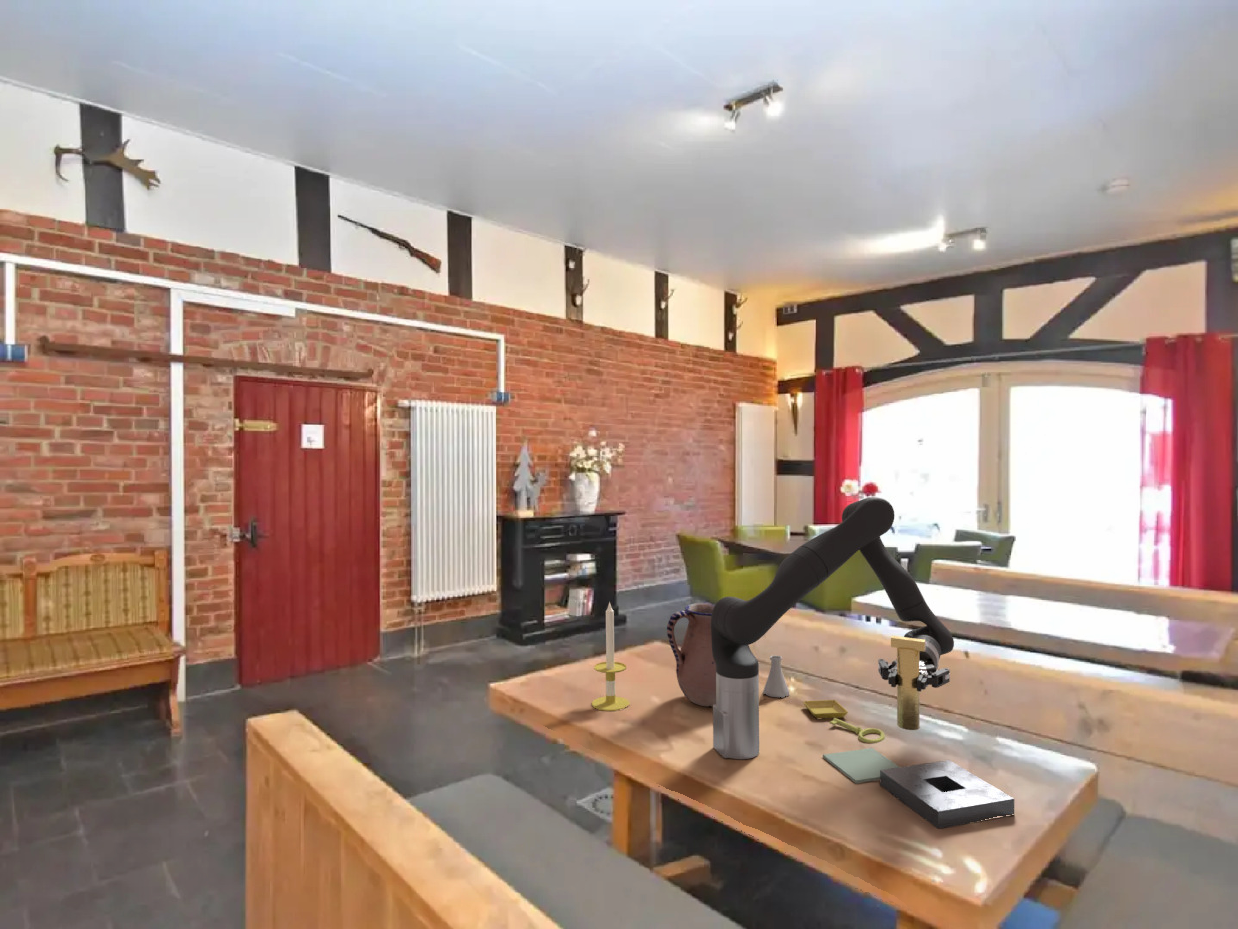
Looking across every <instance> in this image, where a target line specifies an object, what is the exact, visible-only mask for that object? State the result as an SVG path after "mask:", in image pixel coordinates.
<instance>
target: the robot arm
mask: <svg viewBox="0 0 1238 929" xmlns="http://www.w3.org/2000/svg"><path fill="white" fill-rule="evenodd" d="M894 521H895V510H894V507H893V506H892V504H891V503H890V502H889V501H888V500H887V499H884V498H883V497H878V496H871V497H866V498H863V499H860V500H858V501H854V502H851V503H850V504H848V505H846V506H845V508H844V509H843V511H842V514H841V523H839V524H838V525H836V526H834V527H832V528H831V529H828V530H826V531H824V532H823V533H821V534H819V535H816V536H815V537H813V538H811V539H810V540H808V541H806V542H805V543H802V545H800V546H799V547H797V548H796V549H795V550H794V551H792V552H791V553H789V555H787V556H786V557H785V558H784V559H783V560H782V562H781V563H780V565H779V566H778V568H777V570H776V573H775V576H774V578H773V580H772V582H771V583H770V584H769V585H768V586H767V587H765V589H764V590H762V591H761V592H760V593H758V594H757V595H755V596H754V597H752V598H751V599H749V600H744V599H742V598H739V597H735V596H725V597H722V598H720V599H719V600H718V601H717V602H715V604H714V608H713V611H712V615H711V641H712V655H713V658H714V661H715V664H716V704H714V705H713V707H712V738H713V739H712V745H713V746H712V747H713V749H715V751H716V752H717V753H718V754H719V755H720V754H721V755H722V756H723V757H724V758H723V757H722V756H721V755H720V756H721V757H722V758H723V759H734V760H748V759H752V758H755V757H757V756H758V755H759V754H760V678H759V676H760V672H759V670H760V669H759V668H760V666H759V664H760V663H759V661H758V660H759V659H757V657H756V656H755V654H754V653H753V652H752V650H751V647H750V645H752V644H755V643H756V642H758V641H759V640H760V639H761V638H762V637H763V636H765V635H766V633H768V631H770V630H771V628H772V627H774V626H775V624H776V623H777V622H778V621H779V620H780V619H781V618H782V617H783V616H784V615H785V614H786V613H787V612H789V611H790V610H791V609H792V608H793V607H794V606H795V605H797V604H798V603H799V602H801V600H802V599H803V598H805V597H806V596H807V595H808V594H810V593H811V592H812V591H813V590H815V589H817V587H819V586H820V585H822V583H824V581H826V580H827V579H828V578H830V577H831V576H832V575H833V574H834V573H835V572H836V571H837V570H839V569H840V568H841V567H842V566H843V565H844V564H846V562H848V560H850V559H851V558H852V557H853V556H854V555H855V554H856V553H857V552H858V551H859V552H860V554H861V555H862V556H863V558H864V559H865V560H866V563H868V565H869V567H870V568H871V569H872V570H873V573H874V574H875V575H876V577H877V579H878V580H879V583H880V584H881V586H882V587H883V589H884V591H885V593H886V595H887V597H888V599H889V601H890V603H891V605H892V607H893V609H894V611H895V613H896V615H897V616H898V618H899V620H901V621H902V622H905V623H907V622H920V623H923V624H924V625H925V626H921V627H918V628H915V629H912V630H910V631H907V632H906V633H905V634H904V636H903V637H907V638H915V639H923V640H926V649H925V651H919V677H918V679H917V691H919V693H920V692H922V690H926V689H927V688H928V687H929V686H931V687H932V688H935V689H937V688H940V687H942V686H944V685H947V684H948V683H950V680H951V679H950V677H951V676H950V675H951V674H950V671H951V670H950V668H948V667H943V668H939V663H940V658H941V656H943V655H946V654H949V653H951V652H952V651H953V650H954V647H955V640H954V638H953V635H952V633H951V632H950V630H949V629H948V627H946V625H945V624H944V623H943V622H942V621H941V620H940V619H939V618H938V617H937V616H936V614H935V613H934V612H933V610H931V608H930V607H929V606H928V604H927V602H926V600H925V598H924V595H923V594H922V592H921V590H920V588H919V586H918V585H917V583H916V581H915V579H914V578H913V577H912V574H910V573H909V572H908V571H907V570H906V568H904V566H903V565H901V564H900V563H899V562H898V561H897V559H895V557H893V556H892V554H891V553H890V552H889V551H888V549H887V547H886V545H885V544H884V542H883V541H882V539H881V537H882V536H883V535H884V534H886V533H888V531H889V530H890V529H891V528H892V527H893V524H894ZM877 664H878V665H877V666H878V673H879V675H880V678H882V680H884V681H888V682H887V683H888V685H890V687H891V688H896V687H897V658H896V659H895V660H893V661H891V663H889V662H888V661H887V660H885V659H884V658H879V659H878V663H877Z"/></svg>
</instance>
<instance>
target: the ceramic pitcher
mask: <svg viewBox="0 0 1238 929" xmlns="http://www.w3.org/2000/svg"><path fill="white" fill-rule="evenodd" d="M714 606H715V604H713V603H710V602H708V601H707V602H705V601H704V602H695V603H691V604H687V605H686V606H685V607H684V610H683V609H681V610H677V611H676V612H674V613H673V614H671V615H670V618H669V620H668V622H667V625H666V633H667V639H668V642H669V645H670V648H671V650H672V653H673V656H674V660H675V663H676V666H675V668H676V669H675V673H676V678H677V680H676V681H677V683H678V686H679V688H680V690H681V691H682V693H683V695H684V696H685V697H686V698H687V699H688V700H689V701H691V703H693V704H695V705H698V706H702V707H709V706H713V705H714V704H716V664H715V661H714V658H713V655H712V641H711V615H712V611H713V608H714ZM683 618H685V619H687V620H688V625H687V628H686V631H685V633H684V638H683V640H682V642H681V647H680V649H679V647H678V645H677V642H676V637H675V626H676V625H677V623H678V622H679V620H681V619H683Z"/></svg>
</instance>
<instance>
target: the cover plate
mask: <svg viewBox="0 0 1238 929" xmlns="http://www.w3.org/2000/svg"><path fill="white" fill-rule="evenodd" d="M879 786H880V787H882V788H883V789H884V790H886V791H887V792H889V793H890V794H891V795H892V796H894V797H895V798H896V799H898V801H900V802H902V803H903V804H904V805H906V806H907V807H909V808H910V809H911V810H912V811H914V812H915V813H916V814H917V815H919V816H920V817H922V818H923V819H924V820H926V821H927V822H929V823H930V824H931V825H932V826H934V827H935V828H937V829H938V830H939V829H940V830H941V829H945V828H950V827H951V828H952V827H956V826H961V825H967V823H969V824H971V823H970V822H974V823H978V822H977V821H980V822H982V821H981V820H985V819H989V818H993V817H997V816H1006V815H1012V814H1014V815H1015V798H1014V797H1012V796H1011V795H1009V794H1008V793H1005V792H1004V791H1002V790H1001V789H999V788H997V787H996V786H994V785H992V784H990V783H988V782H987V781H985V780H983V779H981V778H980V777H978V776H977V775H975V774H973V773H972V772H970V771H968V770H967V769H965V768H964V767H962V766H960V765H959V764H957V763H955V762H953V761H951V760H950V759H948V760H940V761H935V762H927V763H920V764H913V765H907V766H899V768H892V769H885V770H880V780H879ZM944 791H945V792H944ZM946 791H947V792H946Z"/></svg>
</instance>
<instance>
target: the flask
mask: <svg viewBox="0 0 1238 929" xmlns="http://www.w3.org/2000/svg"><path fill="white" fill-rule="evenodd" d="M782 658H783V657H782V656H780V655H770V657H769V659H770V670H769V672H768V677H767V679H766V682H765V684H764V687H763V690H762V691H763V692H762V694H763V695H764V694H766V695H765V696H768V697H770V698H780V697H781V698H786V697H788V696H790V689H789V687H788V685H787V682H786V679H785V676H784V673H783V669H782V664H781V661H782ZM785 696H786V697H785ZM781 698H780V699H781Z"/></svg>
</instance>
